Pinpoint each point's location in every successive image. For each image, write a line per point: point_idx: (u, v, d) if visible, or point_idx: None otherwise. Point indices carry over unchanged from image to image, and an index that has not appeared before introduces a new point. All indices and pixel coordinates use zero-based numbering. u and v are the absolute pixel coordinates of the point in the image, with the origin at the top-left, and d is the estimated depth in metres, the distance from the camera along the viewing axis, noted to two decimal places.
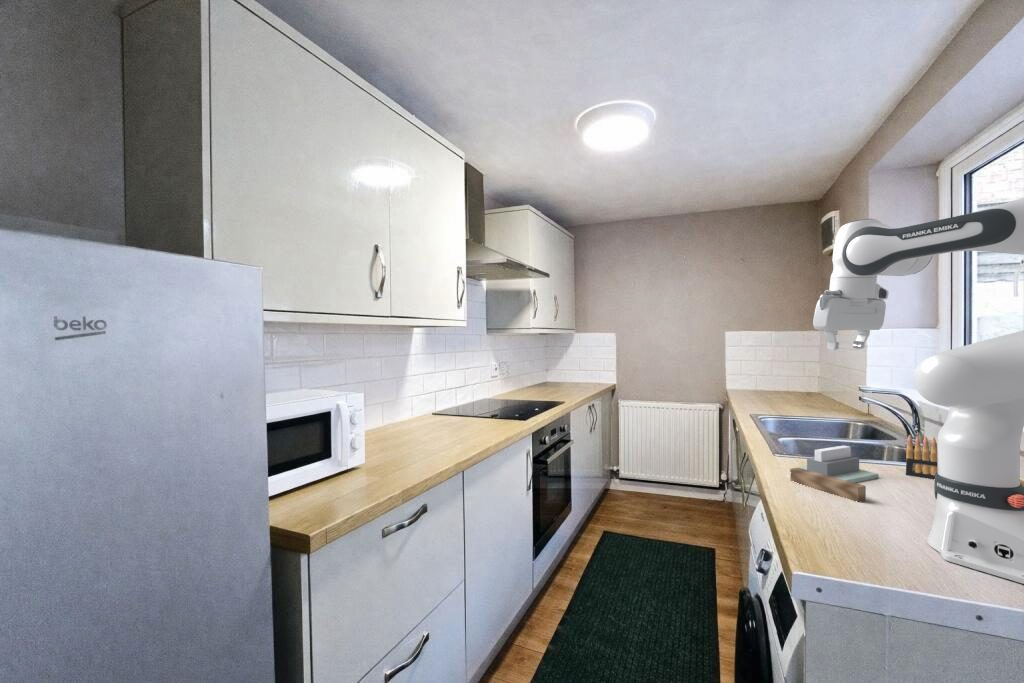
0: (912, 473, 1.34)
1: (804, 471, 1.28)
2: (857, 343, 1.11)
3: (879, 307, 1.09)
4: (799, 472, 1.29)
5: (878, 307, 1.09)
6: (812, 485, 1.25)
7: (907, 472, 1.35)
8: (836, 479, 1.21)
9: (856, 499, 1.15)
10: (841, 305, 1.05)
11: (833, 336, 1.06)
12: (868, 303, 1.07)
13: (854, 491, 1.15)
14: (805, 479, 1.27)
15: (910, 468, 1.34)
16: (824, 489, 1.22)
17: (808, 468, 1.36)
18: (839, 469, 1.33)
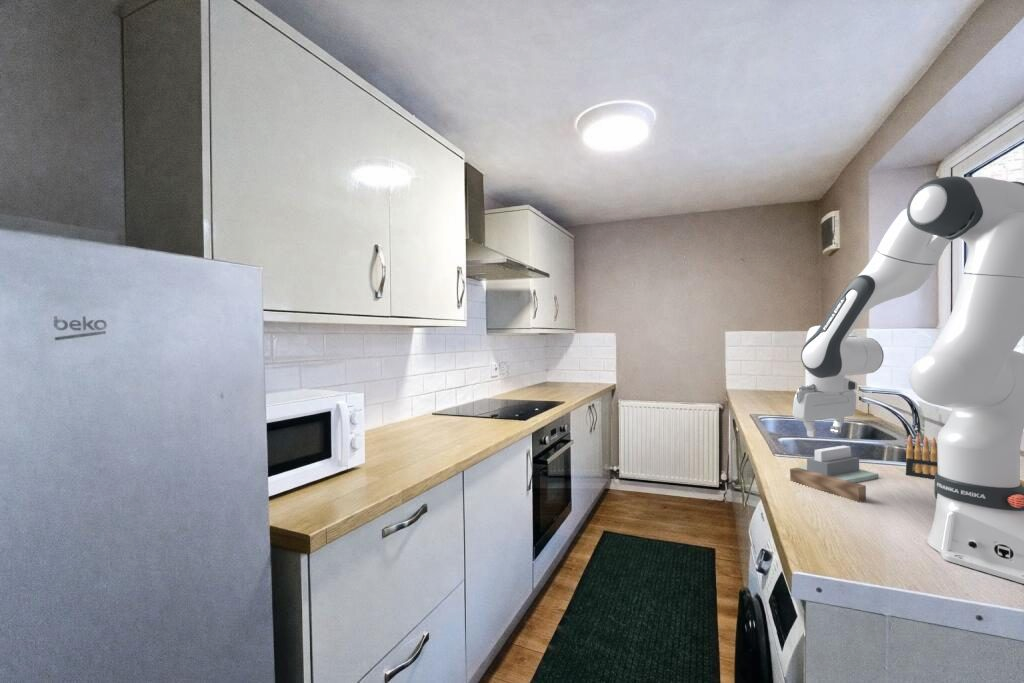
0: (912, 473, 1.34)
1: (804, 471, 1.28)
2: (834, 428, 1.25)
3: (850, 397, 1.24)
4: (799, 472, 1.28)
5: (849, 396, 1.24)
6: (812, 485, 1.25)
7: (907, 472, 1.35)
8: (836, 479, 1.21)
9: (856, 499, 1.15)
10: (815, 398, 1.19)
11: (811, 425, 1.20)
12: (840, 394, 1.22)
13: (854, 491, 1.15)
14: (805, 479, 1.27)
15: (910, 468, 1.34)
16: (824, 489, 1.22)
17: (808, 468, 1.36)
18: (839, 469, 1.33)
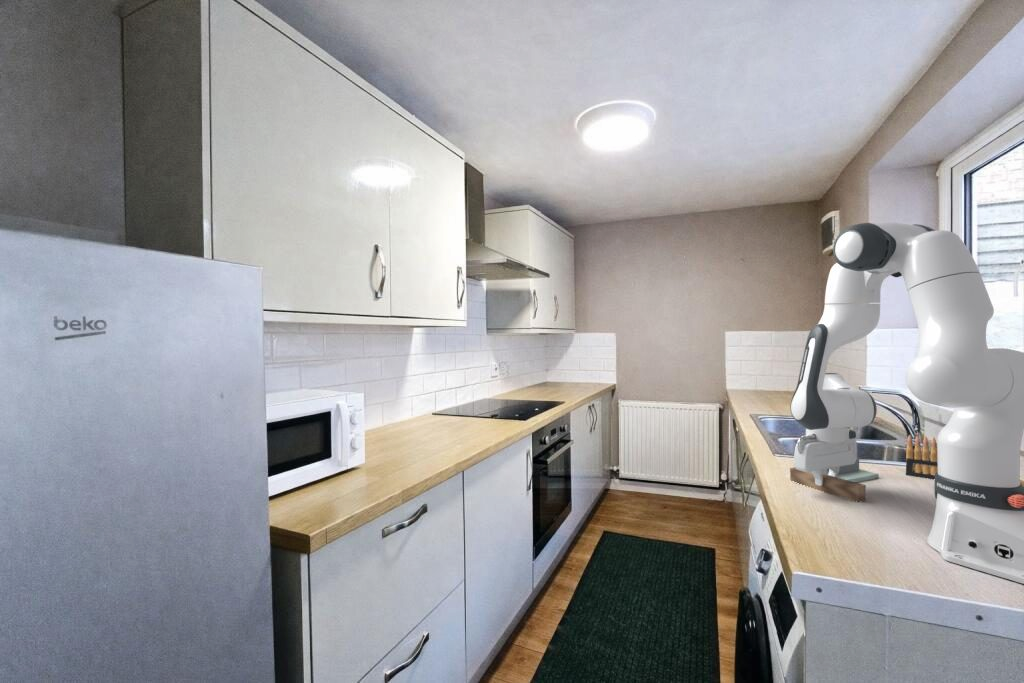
0: (912, 473, 1.34)
1: None
2: None
3: (851, 445, 1.24)
4: (799, 471, 1.29)
5: (850, 445, 1.24)
6: (812, 484, 1.25)
7: (907, 472, 1.35)
8: (836, 478, 1.21)
9: (856, 498, 1.15)
10: (816, 449, 1.19)
11: (819, 474, 1.21)
12: (840, 443, 1.22)
13: (854, 490, 1.15)
14: (805, 478, 1.27)
15: (910, 468, 1.34)
16: (824, 488, 1.22)
17: None
18: (839, 469, 1.33)
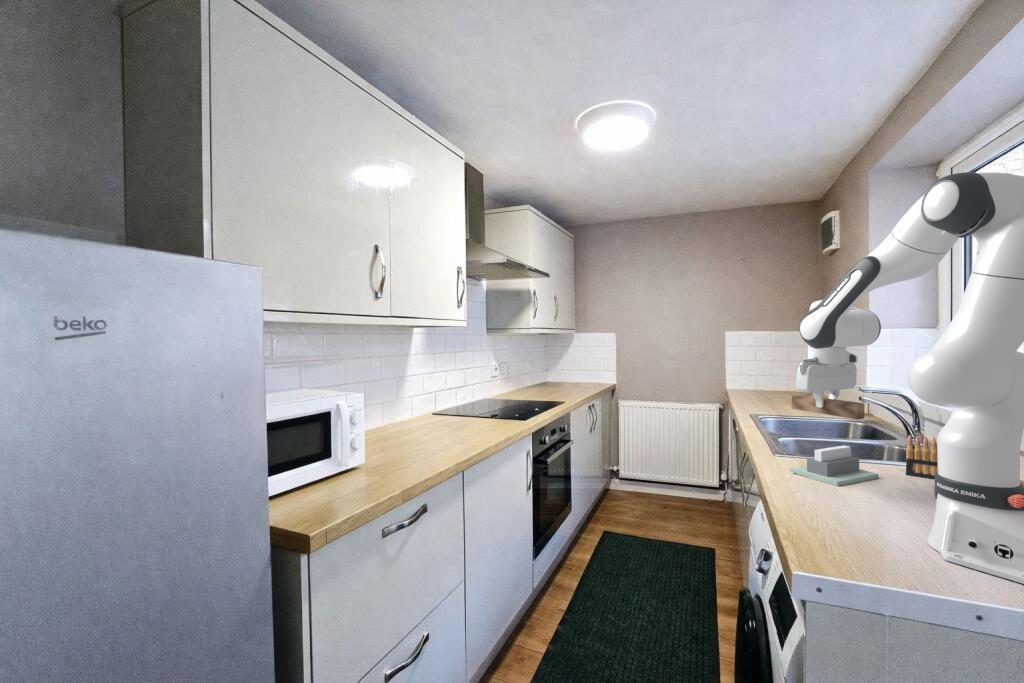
0: (912, 473, 1.34)
1: (805, 396, 1.33)
2: None
3: (851, 370, 1.28)
4: (800, 397, 1.33)
5: (850, 369, 1.28)
6: (813, 408, 1.30)
7: (907, 472, 1.35)
8: (836, 400, 1.25)
9: (855, 415, 1.19)
10: (818, 370, 1.24)
11: (820, 396, 1.25)
12: (841, 367, 1.27)
13: (853, 408, 1.20)
14: (805, 403, 1.32)
15: (910, 468, 1.34)
16: (824, 410, 1.27)
17: (808, 468, 1.36)
18: (839, 469, 1.33)
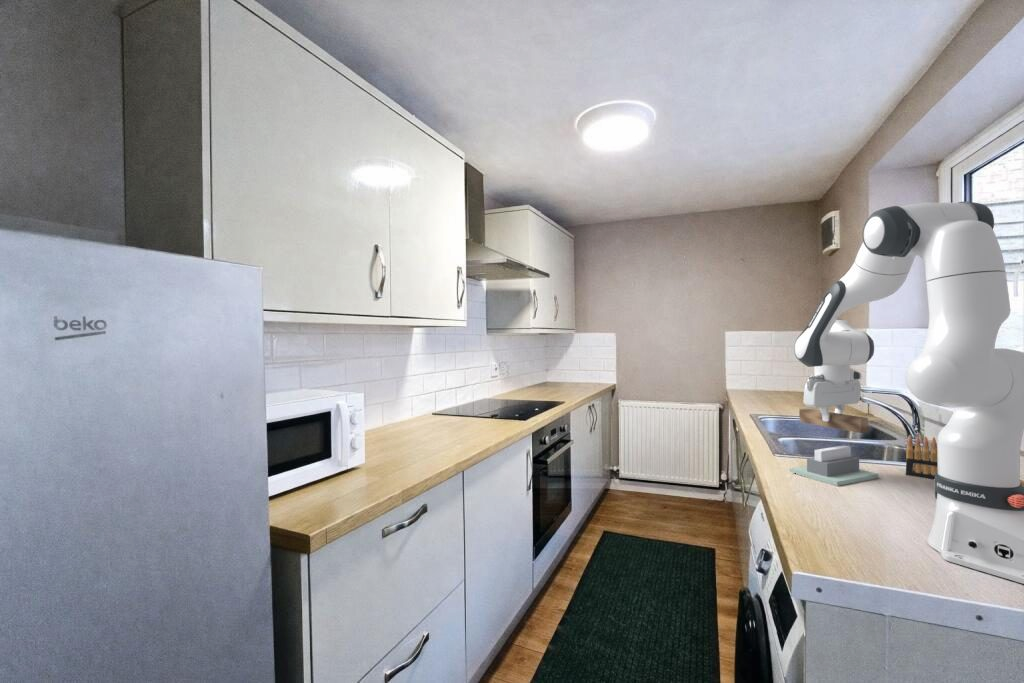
0: (912, 473, 1.34)
1: (812, 410, 1.41)
2: None
3: (855, 386, 1.37)
4: (807, 411, 1.42)
5: (854, 385, 1.37)
6: (819, 421, 1.38)
7: (907, 472, 1.35)
8: (841, 414, 1.34)
9: (859, 429, 1.28)
10: (824, 387, 1.32)
11: (826, 411, 1.34)
12: (846, 383, 1.35)
13: (857, 422, 1.28)
14: (812, 416, 1.40)
15: (910, 468, 1.34)
16: (830, 424, 1.35)
17: (808, 468, 1.36)
18: (839, 469, 1.33)
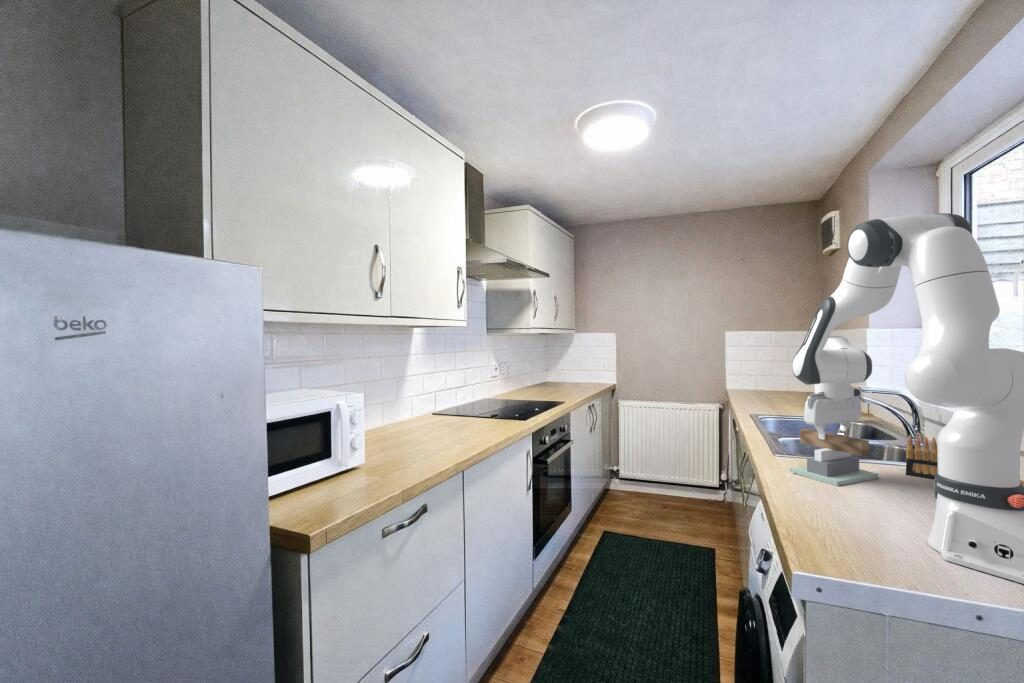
0: (912, 473, 1.34)
1: (813, 431, 1.41)
2: (840, 432, 1.37)
3: (856, 403, 1.37)
4: (808, 432, 1.41)
5: (855, 403, 1.37)
6: (820, 443, 1.38)
7: (907, 472, 1.35)
8: (842, 436, 1.34)
9: (860, 452, 1.28)
10: (824, 405, 1.32)
11: (822, 429, 1.33)
12: (846, 401, 1.35)
13: (858, 445, 1.28)
14: (813, 438, 1.40)
15: (910, 468, 1.34)
16: (831, 446, 1.35)
17: (808, 468, 1.36)
18: (839, 469, 1.33)
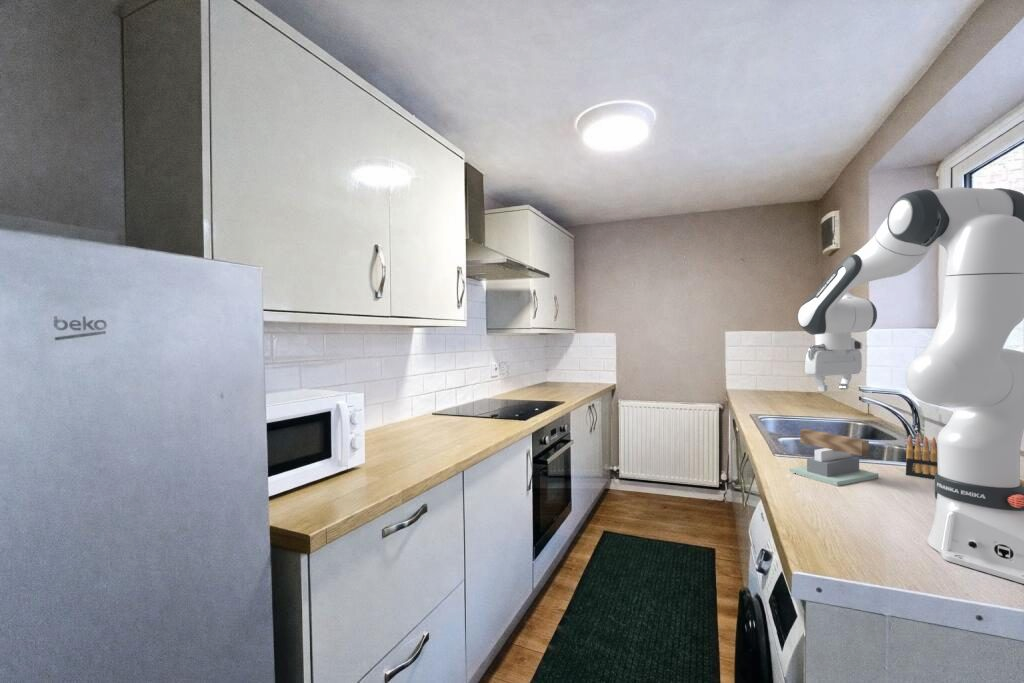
0: (912, 473, 1.34)
1: (813, 431, 1.41)
2: (842, 385, 1.38)
3: (856, 356, 1.37)
4: (808, 432, 1.41)
5: (855, 356, 1.37)
6: (820, 443, 1.38)
7: (907, 472, 1.35)
8: (842, 436, 1.34)
9: (860, 452, 1.28)
10: (825, 356, 1.32)
11: (822, 381, 1.33)
12: (847, 353, 1.35)
13: (858, 445, 1.28)
14: (813, 438, 1.40)
15: (910, 468, 1.34)
16: (831, 446, 1.35)
17: (808, 468, 1.36)
18: (839, 469, 1.33)
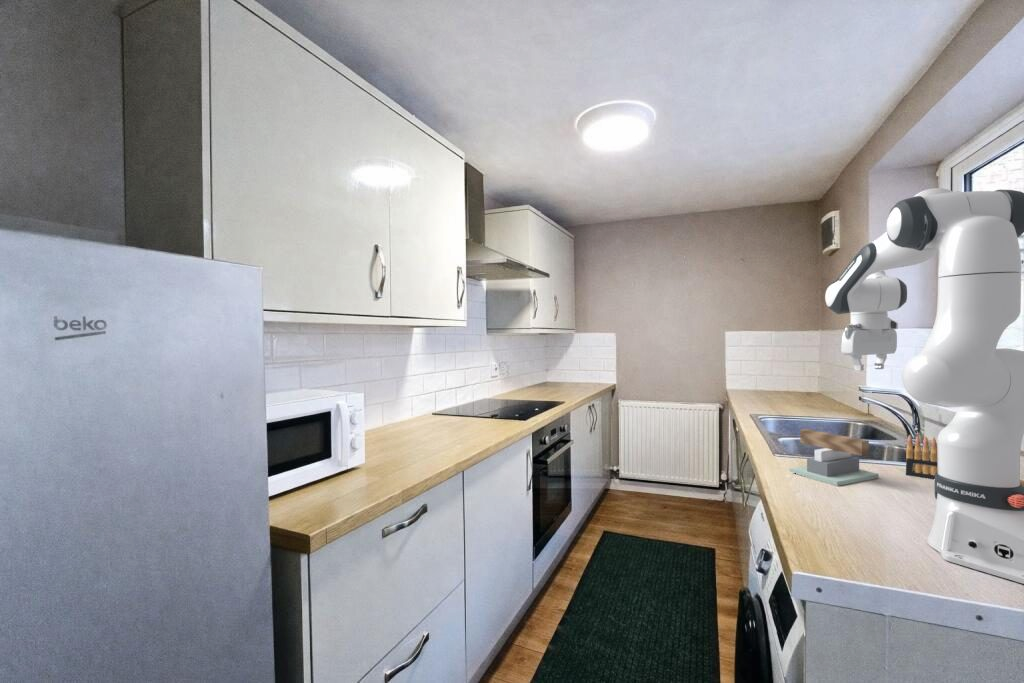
0: (912, 473, 1.34)
1: (813, 431, 1.41)
2: (877, 365, 1.39)
3: (892, 336, 1.38)
4: (808, 432, 1.41)
5: (891, 335, 1.38)
6: (820, 443, 1.38)
7: (907, 472, 1.35)
8: (842, 436, 1.34)
9: (860, 452, 1.28)
10: (862, 335, 1.34)
11: (858, 360, 1.34)
12: (883, 333, 1.37)
13: (858, 445, 1.28)
14: (813, 438, 1.40)
15: (910, 468, 1.34)
16: (831, 446, 1.35)
17: (808, 468, 1.36)
18: (839, 469, 1.33)
